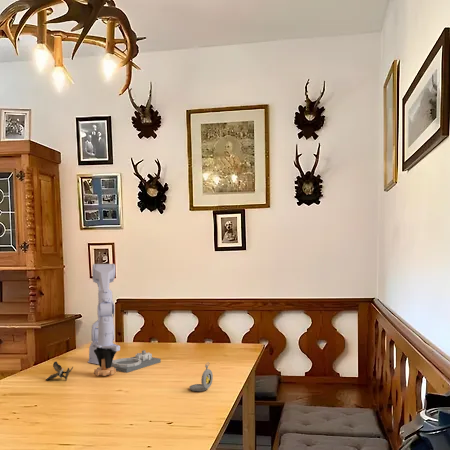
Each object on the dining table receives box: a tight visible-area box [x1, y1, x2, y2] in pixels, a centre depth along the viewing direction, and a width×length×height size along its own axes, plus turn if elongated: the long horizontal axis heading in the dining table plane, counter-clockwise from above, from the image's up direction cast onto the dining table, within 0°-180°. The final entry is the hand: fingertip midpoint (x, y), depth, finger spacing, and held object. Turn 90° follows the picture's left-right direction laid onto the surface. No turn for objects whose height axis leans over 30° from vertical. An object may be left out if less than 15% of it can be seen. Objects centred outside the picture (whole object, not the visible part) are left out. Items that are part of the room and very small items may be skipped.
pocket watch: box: [189, 362, 214, 392], centre depth 165 cm, size 8×8×10 cm
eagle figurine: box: [45, 361, 74, 381], centre depth 178 cm, size 8×7×9 cm
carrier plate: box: [111, 349, 162, 374], centre depth 200 cm, size 13×21×5 cm, turn 147°
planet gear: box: [93, 358, 117, 377], centre depth 184 cm, size 8×8×6 cm
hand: (105, 367), depth 184 cm, fingers closed on planet gear, 3 cm apart
